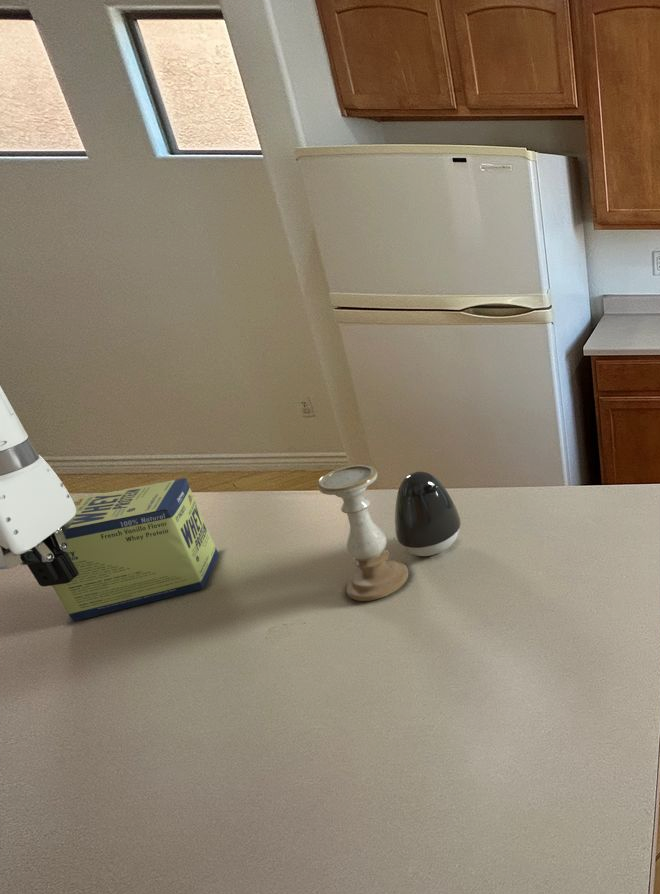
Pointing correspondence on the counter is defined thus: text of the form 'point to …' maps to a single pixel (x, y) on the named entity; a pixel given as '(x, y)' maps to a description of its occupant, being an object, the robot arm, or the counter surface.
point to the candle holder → (364, 535)
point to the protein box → (135, 549)
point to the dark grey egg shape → (425, 515)
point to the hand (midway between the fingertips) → (60, 580)
